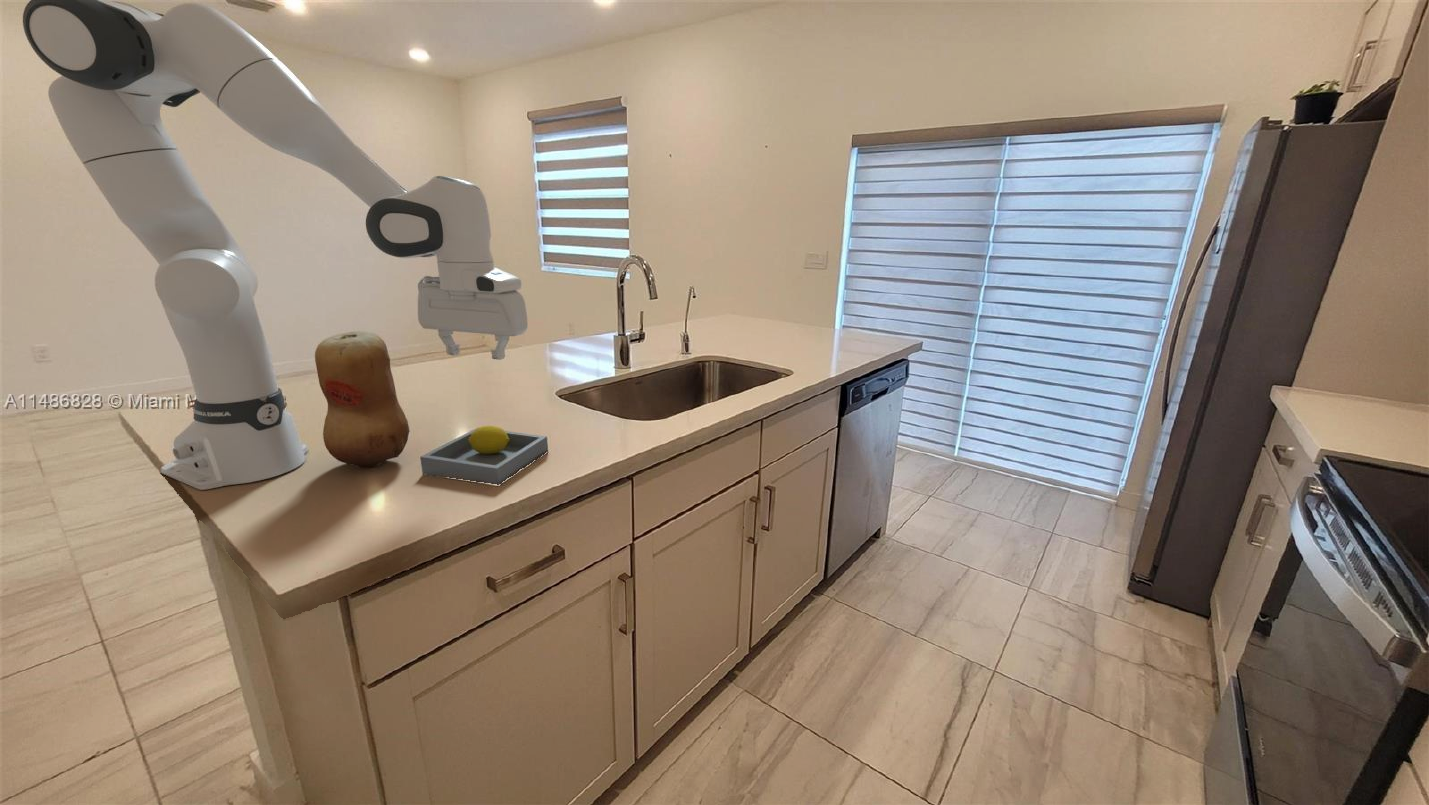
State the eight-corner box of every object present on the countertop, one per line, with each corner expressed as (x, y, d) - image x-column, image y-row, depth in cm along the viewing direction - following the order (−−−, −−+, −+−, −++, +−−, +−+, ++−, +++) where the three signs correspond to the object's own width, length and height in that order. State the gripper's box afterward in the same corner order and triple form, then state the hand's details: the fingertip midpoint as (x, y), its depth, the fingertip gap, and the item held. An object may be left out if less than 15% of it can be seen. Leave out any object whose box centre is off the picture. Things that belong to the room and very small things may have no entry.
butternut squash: (313, 479, 97) (282, 340, 90) (354, 450, 110) (331, 325, 102) (394, 479, 98) (371, 341, 91) (426, 449, 111) (408, 326, 103)
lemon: (476, 442, 111) (516, 442, 111) (466, 460, 107) (507, 459, 107) (469, 420, 108) (510, 419, 108) (459, 437, 104) (501, 436, 104)
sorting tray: (422, 474, 100) (420, 456, 99) (480, 443, 115) (478, 427, 114) (499, 486, 97) (497, 468, 96) (548, 452, 111) (547, 436, 110)
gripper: (403, 276, 95) (414, 355, 99) (507, 283, 90) (514, 365, 94) (430, 274, 101) (439, 348, 105) (529, 279, 96) (535, 357, 100)
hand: (475, 356), depth 99 cm, fingers open, 8 cm apart
